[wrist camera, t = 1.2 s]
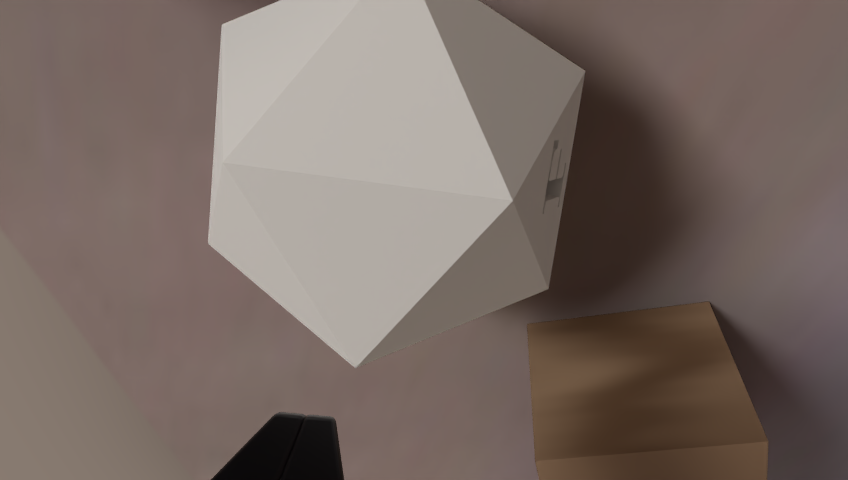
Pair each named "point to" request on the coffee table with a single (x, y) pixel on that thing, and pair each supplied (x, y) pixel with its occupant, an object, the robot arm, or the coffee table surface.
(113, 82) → the coffee table surface
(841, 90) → the coffee table surface
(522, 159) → the die
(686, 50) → the coffee table surface
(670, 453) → the walnut block
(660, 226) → the coffee table surface
